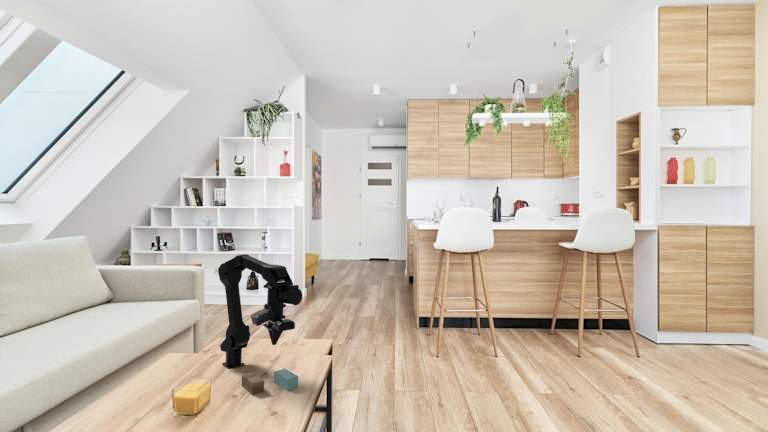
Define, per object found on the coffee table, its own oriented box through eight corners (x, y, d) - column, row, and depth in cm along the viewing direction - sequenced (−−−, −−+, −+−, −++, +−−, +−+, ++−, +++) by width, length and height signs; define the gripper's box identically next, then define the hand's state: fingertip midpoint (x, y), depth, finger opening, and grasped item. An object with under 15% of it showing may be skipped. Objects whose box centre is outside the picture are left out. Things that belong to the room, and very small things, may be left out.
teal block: (274, 371, 140) (287, 379, 134) (284, 368, 143) (298, 376, 136) (274, 382, 140) (287, 391, 134) (284, 380, 143) (297, 388, 136)
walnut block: (241, 374, 137) (252, 383, 130) (253, 371, 139) (264, 380, 132) (241, 386, 136) (251, 395, 130) (253, 383, 139) (263, 392, 132)
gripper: (242, 299, 147) (241, 342, 146) (266, 308, 133) (264, 356, 133) (271, 296, 154) (269, 337, 154) (296, 304, 140) (294, 349, 140)
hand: (273, 344), depth 145 cm, fingers closed
